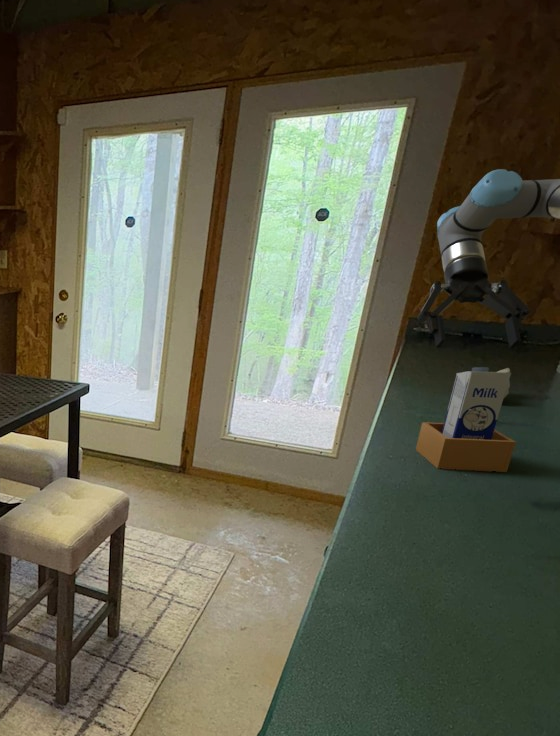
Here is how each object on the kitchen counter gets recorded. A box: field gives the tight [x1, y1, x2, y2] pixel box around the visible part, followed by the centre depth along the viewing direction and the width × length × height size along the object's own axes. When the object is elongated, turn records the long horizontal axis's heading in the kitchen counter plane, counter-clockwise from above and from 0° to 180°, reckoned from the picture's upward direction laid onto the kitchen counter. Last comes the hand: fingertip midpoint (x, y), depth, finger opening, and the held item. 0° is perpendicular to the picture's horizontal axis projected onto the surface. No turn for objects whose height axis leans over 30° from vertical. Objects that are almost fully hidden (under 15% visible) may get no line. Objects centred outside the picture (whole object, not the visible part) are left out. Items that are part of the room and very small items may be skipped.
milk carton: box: [442, 366, 512, 440], centre depth 135 cm, size 7×7×20 cm
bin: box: [415, 421, 517, 473], centre depth 138 cm, size 13×13×7 cm
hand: (477, 344), depth 134 cm, fingers open, 13 cm apart
